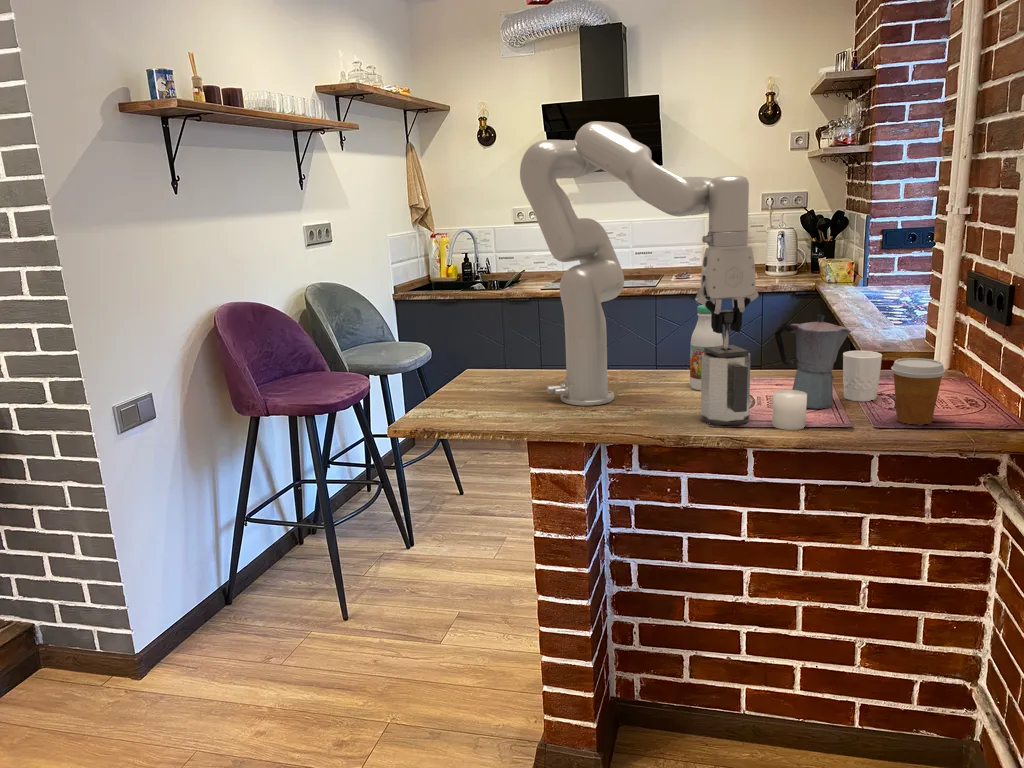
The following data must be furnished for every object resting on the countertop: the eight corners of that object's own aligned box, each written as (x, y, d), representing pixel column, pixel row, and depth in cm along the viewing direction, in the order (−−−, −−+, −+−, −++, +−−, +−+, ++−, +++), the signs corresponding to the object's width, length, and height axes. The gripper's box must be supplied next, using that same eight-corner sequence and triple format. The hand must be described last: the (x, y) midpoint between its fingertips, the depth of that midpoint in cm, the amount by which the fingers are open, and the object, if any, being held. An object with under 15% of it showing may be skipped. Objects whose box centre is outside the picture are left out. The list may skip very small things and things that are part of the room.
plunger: (717, 382, 161) (718, 315, 158) (703, 375, 167) (703, 310, 164) (748, 379, 162) (750, 312, 159) (733, 372, 169) (734, 307, 165)
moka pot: (851, 410, 169) (856, 317, 164) (775, 410, 172) (778, 318, 167) (842, 399, 178) (847, 310, 173) (770, 398, 181) (773, 311, 176)
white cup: (873, 393, 181) (876, 350, 179) (883, 402, 174) (886, 357, 171) (837, 393, 183) (839, 350, 180) (845, 402, 175) (847, 358, 173)
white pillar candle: (782, 431, 157) (783, 399, 156) (766, 422, 164) (767, 391, 162) (812, 428, 159) (813, 395, 157) (794, 419, 165) (795, 388, 163)
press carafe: (718, 431, 159) (719, 357, 156) (693, 415, 171) (693, 346, 167) (763, 426, 161) (765, 353, 158) (735, 411, 172) (736, 342, 169)
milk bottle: (688, 383, 197) (689, 303, 193) (720, 383, 196) (722, 302, 192) (691, 391, 190) (691, 308, 185) (724, 391, 189) (726, 307, 184)
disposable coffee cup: (878, 421, 161) (882, 363, 158) (902, 411, 166) (906, 355, 163) (926, 431, 153) (931, 370, 151) (949, 420, 159) (954, 362, 156)
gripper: (697, 243, 153) (696, 338, 157) (775, 238, 156) (772, 331, 160) (681, 241, 160) (681, 332, 164) (756, 237, 163) (754, 325, 168)
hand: (726, 330), depth 162 cm, fingers closed on plunger, 3 cm apart
